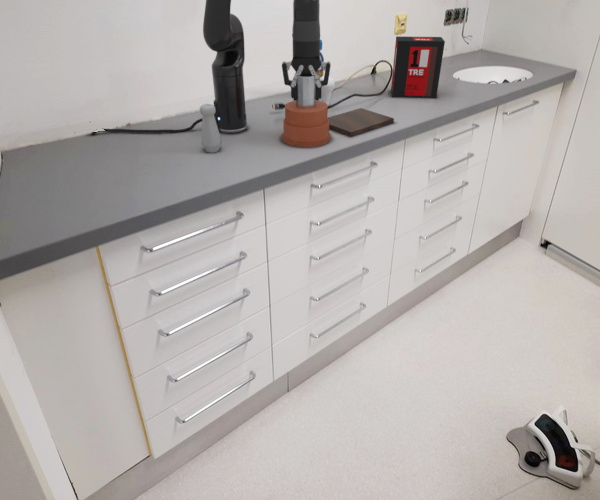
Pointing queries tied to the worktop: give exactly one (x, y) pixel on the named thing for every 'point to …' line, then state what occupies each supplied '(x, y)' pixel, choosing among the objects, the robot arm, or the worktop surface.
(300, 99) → the steel cup
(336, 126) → the board
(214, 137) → the salt shaker
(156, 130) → the robot arm
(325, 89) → the lightbulb
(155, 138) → the worktop surface
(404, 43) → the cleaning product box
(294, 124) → the terracotta flower pot
